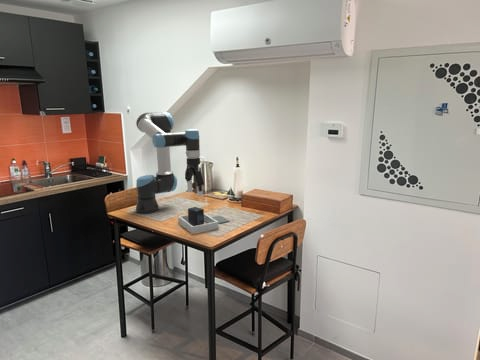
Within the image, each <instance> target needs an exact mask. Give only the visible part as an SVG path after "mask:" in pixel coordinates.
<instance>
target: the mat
mask: <svg viewBox="0 0 480 360" xmlns="http://www.w3.org/2000/svg"><path fill="white" fill-rule="evenodd" d="M210 217H211V218H213V219H214V220H216V221H218V225H220V224H225V223H229V222H230V220H229V219H227V218H226V217H224V216H222V215H220V214H219V215H216V216H210Z"/></svg>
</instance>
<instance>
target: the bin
mask: <svg viewBox="0 0 480 360" xmlns="http://www.w3.org/2000/svg"><path fill="white" fill-rule="evenodd" d="M177 217H178V218H177V220H178V221H177V222H178V224H179V225H180V226H182V227H183V228H185V229H186V230H187V231H188V232H189V233H190V234H192V235H195V234H199V233H204V232H208V231H213V230H219V226H220V225H219V224H218V221H216V220H214V219H213V218H211V217H212V216H209V215H208V214H206V213H205V212H204V222H206V223H204V224H202V225H197V226H192V225H191V224H190V223H189V220H188V214H183V215H179V216H177Z"/></svg>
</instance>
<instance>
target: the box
mask: <svg viewBox="0 0 480 360" xmlns="http://www.w3.org/2000/svg"><path fill="white" fill-rule="evenodd" d="M204 213H205V212H204V208H202V207H197V206H192V207H189V208H187V215H188V220H189V221H188V223H190V224H191V225H192V226H197V225H202V224H205V220H204Z"/></svg>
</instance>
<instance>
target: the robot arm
mask: <svg viewBox="0 0 480 360" xmlns="http://www.w3.org/2000/svg"><path fill="white" fill-rule="evenodd" d="M174 125H175V124H174V120H173V117H172V114H171V113H169V112H166V111H165V112H164V111H162V112H158V111H157V112H156V111H155V112H144V113H142V114H140V115H139V116H138V118H137V119H136V123H135V126H136V128H137V129H138V130H139V131H140V132H141V133H145V134H146V135H147V136H148V137H149V138H150V139H152V145H153V146H154V147H155V148H156V160H157V172H156V174H155V175H153V174H146V175H142V176H140V177H138V178H137V179H136V192H137V193H136V194H137V201H136V205H135V212H136V213H137V212H138V214H152V212H153V213H155V212H158V211H159V210H160V206H159V203H158V201H157V199H156V194H157V195H158V194H164V193H171V192H174V191H175V190H176V189H177V186H178V178H177V176H176V174H174V171H172V168H171V167H172V165H171V150H170V147H181V146H182V147H184V146H185V154H186V171H185V180H186V182H187V183H186V185H187V187H186V188H187V193H192V192H193V176H194V178H195V181H196V195H197V198H201V197H203V186H204V185H205V183H204V179H203V173H202V168H201V167H199V165H200V164H201V158H200V157H201V149H200V132H199V130H198V129H185V131H180V132H172V130H173V129H174ZM171 132H172V133H171Z"/></svg>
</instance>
